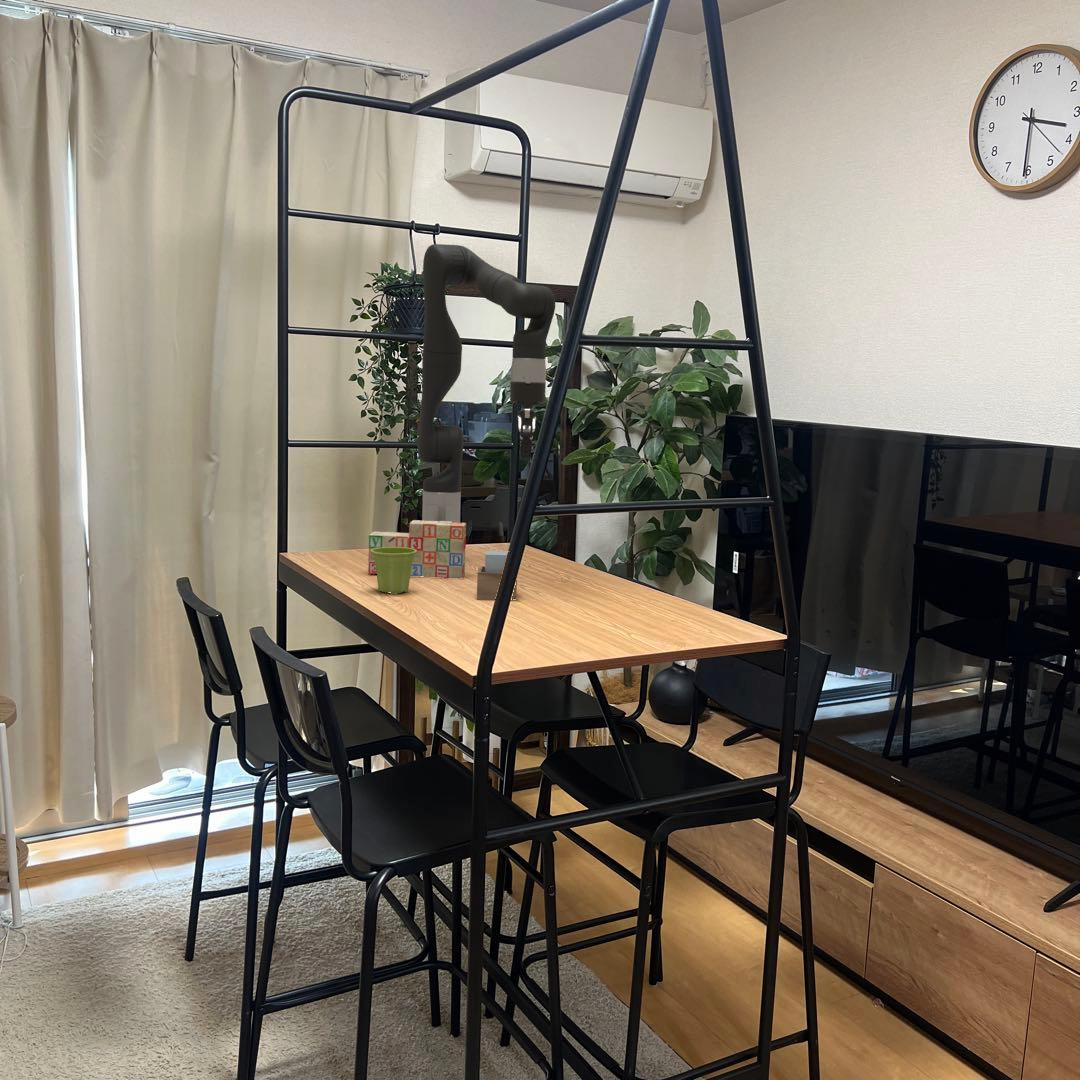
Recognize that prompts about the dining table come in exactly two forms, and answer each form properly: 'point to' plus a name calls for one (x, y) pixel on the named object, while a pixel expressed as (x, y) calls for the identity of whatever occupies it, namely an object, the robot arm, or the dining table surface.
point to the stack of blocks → (427, 547)
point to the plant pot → (393, 568)
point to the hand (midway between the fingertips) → (525, 456)
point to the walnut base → (489, 584)
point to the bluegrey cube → (495, 561)
